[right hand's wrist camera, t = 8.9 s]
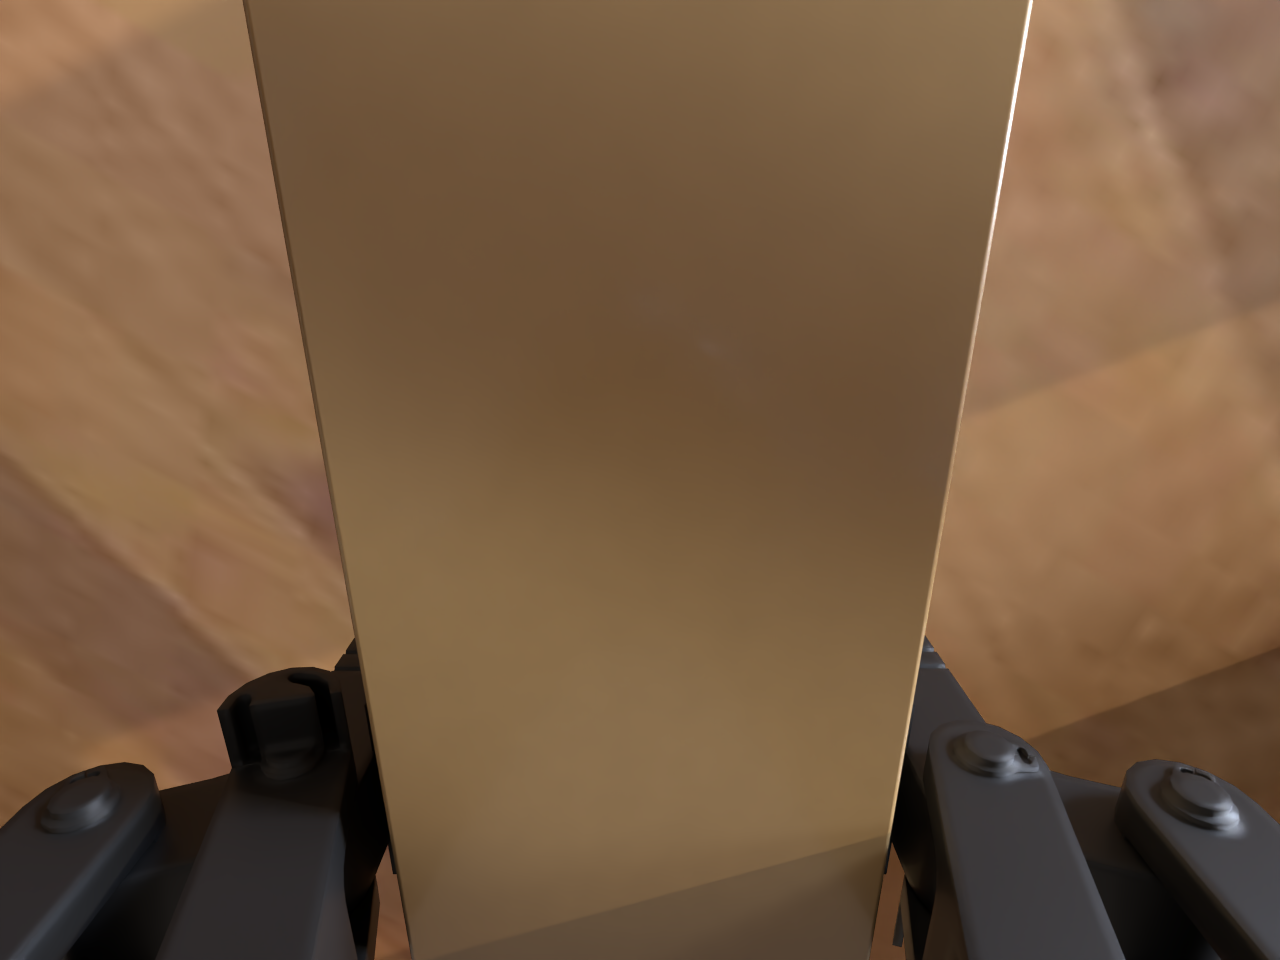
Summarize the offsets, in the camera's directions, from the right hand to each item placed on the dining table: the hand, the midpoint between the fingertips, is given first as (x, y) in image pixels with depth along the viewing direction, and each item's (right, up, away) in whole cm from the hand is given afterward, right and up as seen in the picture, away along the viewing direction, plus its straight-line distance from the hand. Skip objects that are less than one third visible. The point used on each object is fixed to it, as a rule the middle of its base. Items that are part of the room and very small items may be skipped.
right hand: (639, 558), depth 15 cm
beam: (0, +33, -12) cm, 35 cm away
